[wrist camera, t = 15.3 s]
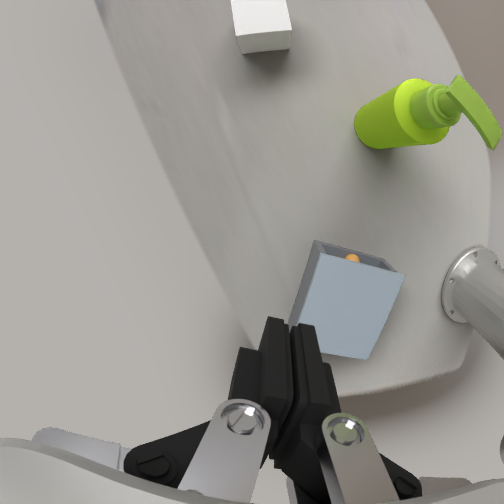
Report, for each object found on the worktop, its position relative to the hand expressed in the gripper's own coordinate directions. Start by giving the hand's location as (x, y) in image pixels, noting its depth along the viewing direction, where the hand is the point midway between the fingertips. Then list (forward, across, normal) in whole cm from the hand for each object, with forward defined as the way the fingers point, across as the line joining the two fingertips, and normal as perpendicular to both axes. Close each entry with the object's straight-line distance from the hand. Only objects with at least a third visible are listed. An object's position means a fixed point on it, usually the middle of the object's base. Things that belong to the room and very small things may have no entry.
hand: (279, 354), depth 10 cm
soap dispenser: (+27, -10, -14) cm, 32 cm away
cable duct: (+27, -10, +8) cm, 30 cm away
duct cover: (+22, -11, +8) cm, 25 cm away
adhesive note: (+28, +7, -24) cm, 37 cm away
